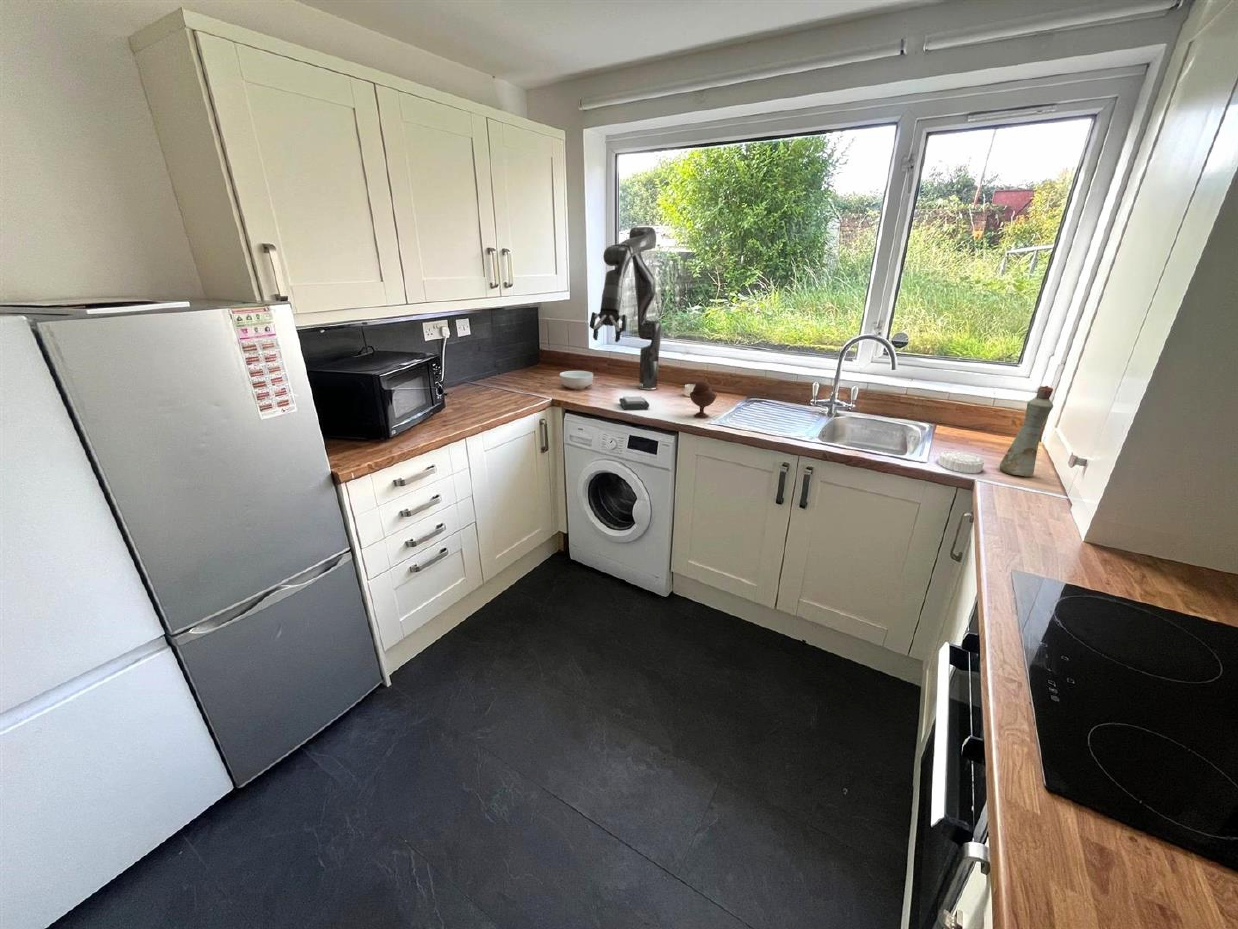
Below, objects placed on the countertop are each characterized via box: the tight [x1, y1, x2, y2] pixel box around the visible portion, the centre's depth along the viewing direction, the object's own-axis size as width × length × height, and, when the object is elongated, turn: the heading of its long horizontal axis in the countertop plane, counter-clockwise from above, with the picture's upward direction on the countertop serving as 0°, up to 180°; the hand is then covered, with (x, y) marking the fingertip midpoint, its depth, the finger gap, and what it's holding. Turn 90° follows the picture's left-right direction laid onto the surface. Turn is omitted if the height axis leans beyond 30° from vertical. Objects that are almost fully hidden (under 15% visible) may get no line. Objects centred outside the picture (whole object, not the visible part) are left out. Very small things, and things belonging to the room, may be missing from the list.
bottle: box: [998, 385, 1054, 478], centre depth 152 cm, size 9×9×28 cm
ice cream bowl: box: [689, 380, 718, 419], centre depth 204 cm, size 11×11×15 cm
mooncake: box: [937, 450, 985, 474], centre depth 160 cm, size 12×12×4 cm
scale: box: [619, 397, 650, 411], centre depth 218 cm, size 11×11×2 cm
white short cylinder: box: [683, 383, 695, 398], centre depth 240 cm, size 6×6×5 cm
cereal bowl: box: [559, 370, 594, 390], centre depth 247 cm, size 17×17×7 cm
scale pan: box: [623, 396, 646, 404], centre depth 217 cm, size 8×8×2 cm
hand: (605, 340), depth 195 cm, fingers open, 8 cm apart
